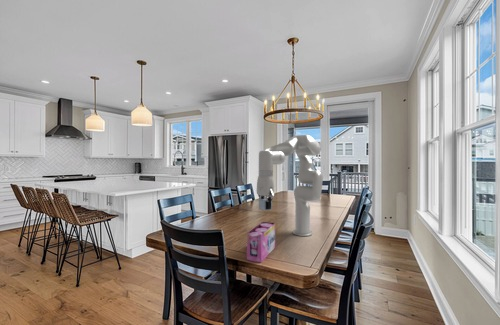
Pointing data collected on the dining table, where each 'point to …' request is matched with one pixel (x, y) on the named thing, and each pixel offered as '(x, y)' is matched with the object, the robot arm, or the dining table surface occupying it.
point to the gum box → (260, 241)
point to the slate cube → (263, 204)
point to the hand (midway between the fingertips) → (265, 207)
